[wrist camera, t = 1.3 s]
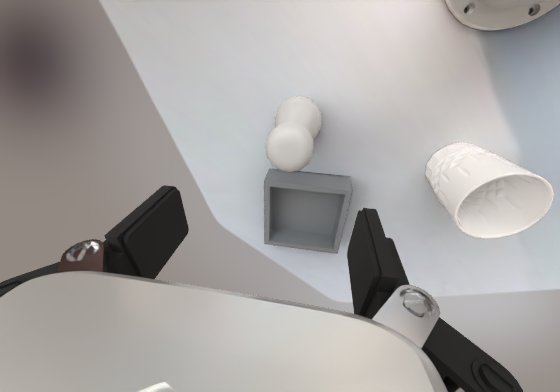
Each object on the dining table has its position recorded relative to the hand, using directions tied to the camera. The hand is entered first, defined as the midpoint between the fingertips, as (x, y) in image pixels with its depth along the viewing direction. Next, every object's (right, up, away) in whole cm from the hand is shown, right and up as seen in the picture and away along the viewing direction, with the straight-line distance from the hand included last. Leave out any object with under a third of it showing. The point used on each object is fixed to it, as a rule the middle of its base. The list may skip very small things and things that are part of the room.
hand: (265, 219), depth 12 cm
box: (+5, 0, +26) cm, 26 cm away
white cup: (+24, +5, +19) cm, 31 cm away
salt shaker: (+3, +12, +18) cm, 22 cm away
